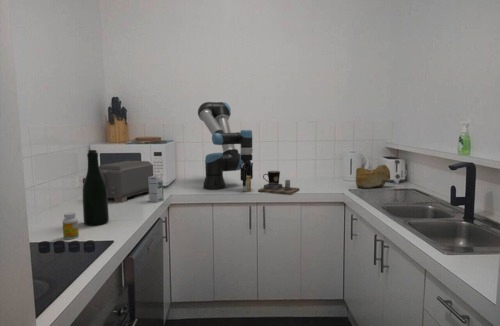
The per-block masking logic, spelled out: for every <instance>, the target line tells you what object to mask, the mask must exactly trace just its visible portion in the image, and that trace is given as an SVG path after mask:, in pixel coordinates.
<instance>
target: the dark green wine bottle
mask: <svg viewBox="0 0 500 326" xmlns="http://www.w3.org/2000/svg"><path fill="white" fill-rule="evenodd" d="M87 152H88V153H87V154H86V158H87V171H86V175H85V178H84V182H83V184H82V213H83V214H82V216H83V223H84V225H86V226H100V225H104V224H107V223H108V222H109V220H110V217H109V202H108V200H109V198H108V199H107V189H106V184H105V182H104V180H103V178H102V175H101V173H100V170H99V166H100V165H99V153H98V152H97V150H96V149H89V150H87Z"/></svg>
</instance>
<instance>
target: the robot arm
mask: <svg viewBox="0 0 500 326" xmlns="http://www.w3.org/2000/svg"><path fill="white" fill-rule="evenodd" d="M231 110H232V109H231V106H230V104H228V103H227V102H222V101H220V102H218V101H217V102H216V101H215V102H214V101H206V102H203V103H202V104H201V105H199V107H198V110H197V116H198V118H199V120H201V121H202V122H203V123H204V125H205V126H206V128H207V129H208V131H209V132H210V133H211V135H212V136H211V141H212V144H213V145H215V146H221V148H222V152H213V153H209V154H206V155H205V156H204V157H205V159H204V160H205V161H204V162H205V163H204V164H205V166H204V167H205V178H204V181H203V184H202V187H203V189H205V190H222V189H225V188H226V181H225V178H224V172H236V171H240V181H242V191H243V192H244V191H247V181H246V177H247V175H250V176H251V180H253V177H254V175H253V174H254V172H253V171H254V169H253V167H254V162H251V161H253V150H254V149H253V130H251V129H241V130H240V131H239V132H232V131H231V128H230V123H229V119H230V117H231V112H232V111H231ZM235 145H240V152H239V150H238V149H237V148H236V146H235Z"/></svg>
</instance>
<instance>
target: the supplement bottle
mask: <svg viewBox="0 0 500 326" xmlns="http://www.w3.org/2000/svg"><path fill="white" fill-rule="evenodd" d="M63 218H64V219H62V230H63V231H62V234H63V239H65V240H75V239H77V238H78V237H79V235H80V234H79V232H80V231H79V220H78V218H77V217H76V212H75V211H73V212H72V211H70V212H65V213H64V214H63Z"/></svg>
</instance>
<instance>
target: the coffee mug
mask: <svg viewBox="0 0 500 326" xmlns="http://www.w3.org/2000/svg"><path fill="white" fill-rule="evenodd" d="M265 176H267V178H268V180H267V179H266V178H265ZM280 176H281V171H280V170H269V171H267V173H264V174H263V175H262V178H263V180H265V181H266V182H267V183H276V184H280Z"/></svg>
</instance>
